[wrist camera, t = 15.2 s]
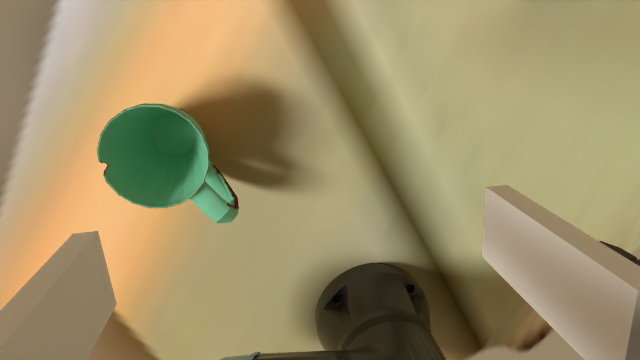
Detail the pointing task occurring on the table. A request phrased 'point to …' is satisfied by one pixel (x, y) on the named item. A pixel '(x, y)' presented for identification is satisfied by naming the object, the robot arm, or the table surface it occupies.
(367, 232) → the table surface
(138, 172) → the mug
